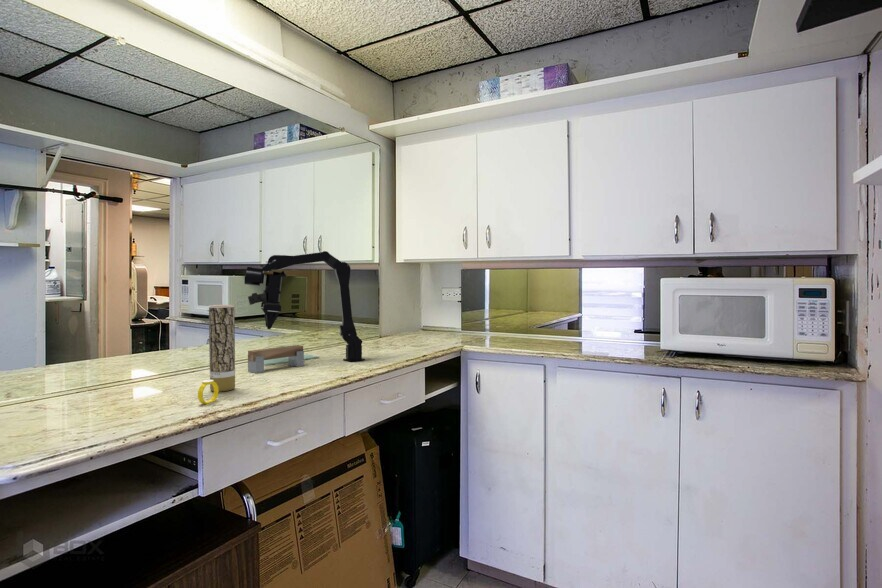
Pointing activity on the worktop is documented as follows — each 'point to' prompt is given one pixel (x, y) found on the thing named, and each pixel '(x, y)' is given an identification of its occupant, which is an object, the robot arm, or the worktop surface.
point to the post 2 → (297, 359)
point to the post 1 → (256, 365)
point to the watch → (201, 389)
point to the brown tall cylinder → (222, 346)
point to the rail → (274, 352)
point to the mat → (286, 360)
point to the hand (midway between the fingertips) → (268, 327)
